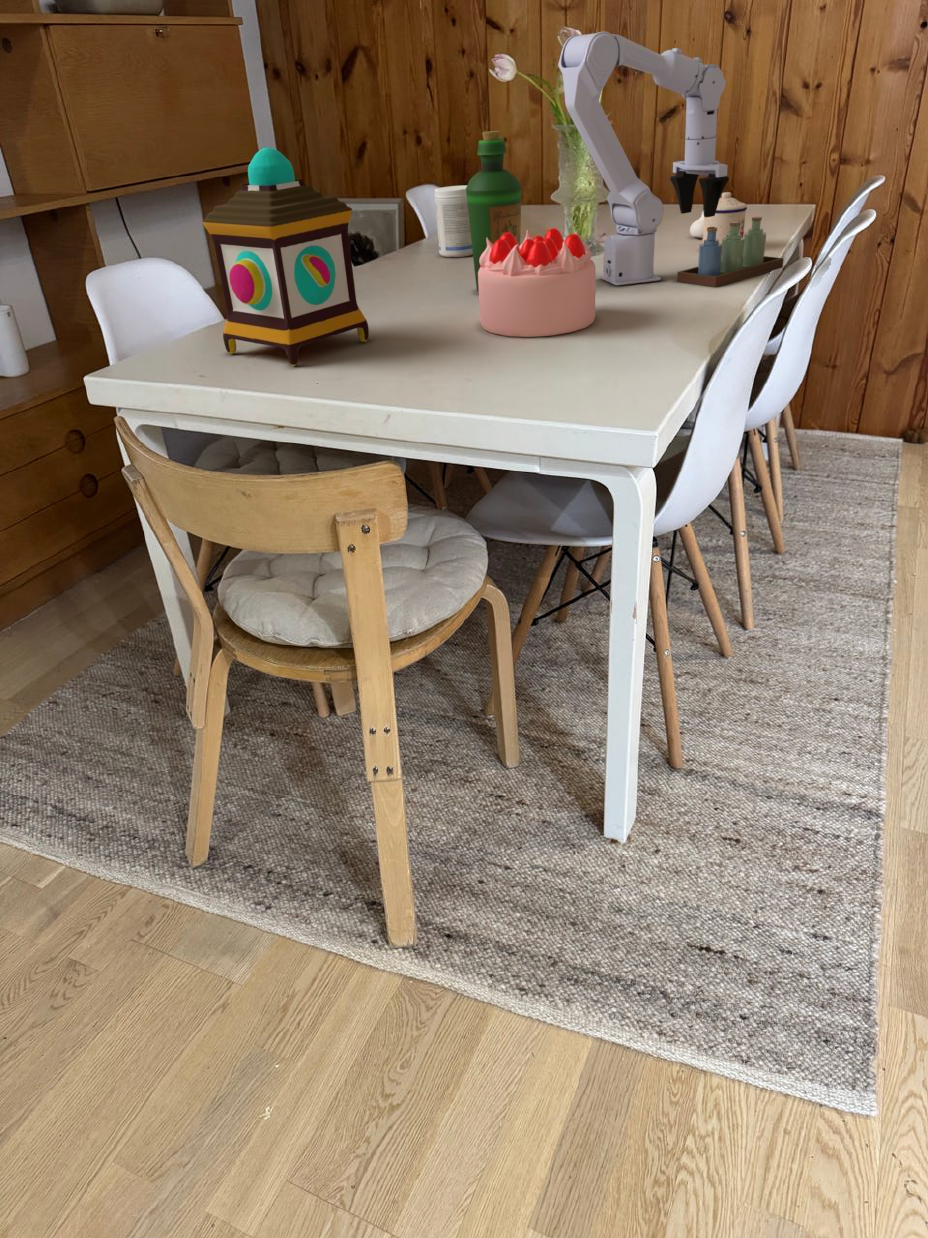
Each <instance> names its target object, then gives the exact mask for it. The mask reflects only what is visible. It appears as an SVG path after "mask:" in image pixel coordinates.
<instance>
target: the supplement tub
mask: <svg viewBox="0 0 928 1238" xmlns="http://www.w3.org/2000/svg"><path fill="white" fill-rule="evenodd" d="M467 185H468V184H467ZM467 185H451V186H443V187H438V188H435V189H434V208H435V218H436V230H437V231H436V233H437V243H438V252H439V255H440V256H441V257H443V258H465V257H468V256H469V257H470V256H473V251H472V241H471V232H470V223H469V214H468V204H467V195H466V187H467Z"/></svg>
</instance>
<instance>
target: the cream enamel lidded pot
mask: <svg viewBox="0 0 928 1238" xmlns="http://www.w3.org/2000/svg"><path fill="white" fill-rule="evenodd" d="M747 209H748V206H747V204H746V203H745V202H742V201H739V200H738V199H736V198H735V197H732V192H729V191H725V192H724V191H723V192H722V194H721V197H720V199H719V202H718V206H717V209H716V213H715V216H712V217H704V231H703V238H702V244H703V243H704V240H706V239H707V233H708V231H707V228H708V227H717V231H716V239H718V240H719V243H721V244H722V239H724V238H726V235H727V234H730V222H740V226H739V231H738V234H741V237H742V238H744V234H745V222H746V211H747Z"/></svg>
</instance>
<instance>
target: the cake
mask: <svg viewBox="0 0 928 1238" xmlns="http://www.w3.org/2000/svg"><path fill="white" fill-rule="evenodd" d="M486 241H487V248H486V249H485V251H484V252H483V253H482V255H481V256H480V259H479V262H480V265H481V267H480V269H479V271H478V286H479V292H478V302H479V303H478V304H479V319H480V326H481V328H482V329H484V330H485V331H487V332H489V333H491V334H495V335H500V336H506V337H524V338H526V337H527V338H531V337H533V338H534V337H548V336H556V335H557V336H558V335H563V334H567V333H568V334H569V333H572V332H576V331H579V330H583V329H585V328H587V327H589V326H590V325H592V324H593V322H594V321H595V318H596V277H597V275H596V274H597V272H596V269H597V268H596V264H595V262H594V260H592V252H591V249H590V247H588V246H587V244H586V243H585V242H584V240H583V238H581V236H580V234H579V233H578V230H576V231H575V232H574V233H570V234H568V235H567V236H566V238H565V239H564V237H563V235H562V233H561V231H560V230H559V229H557V228H555V227H551V228H549V229H548V230H547V231H546V232H545V235H544V236H542V235H536V236H534V237H533V236H532V234H531V232H530V230H529V229H526V234H525V238H524V240H523V241H522V242H521V243H520V247H519V245H518V243H517V241H516V239H515V237H514V235H513V234H512V233H510V232H505V233H503V234H502V235H501V237H500V239H498V240H497V241H496V242H495V243H494V245H493V244H492V243H491V242H490V241H489V240H488V238H487V239H486Z"/></svg>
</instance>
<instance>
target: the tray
mask: <svg viewBox="0 0 928 1238" xmlns="http://www.w3.org/2000/svg"><path fill="white" fill-rule="evenodd" d="M784 260H785V259H784V257H775V256H766V255H764V262H763V263H761V264H758V265H754V266H751V267H743V266H742V269H740V270H736V271H733V272H729V273H721V272H720V275H719V276H710V275H702V274H698V266H695V267H690V268H687V269H683V270H680V271H677V277H676V282H678V283H685V284H692V285H699V286H706V287H712V288H717V287H720V286H723V285H727V284H731V283H734V282H737V281H741V280H744V279H748V278H752V277H756V276H758V275H762V274H765V273H769V272H772V271H775V270H779V269H782V268H783V267H784Z"/></svg>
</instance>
